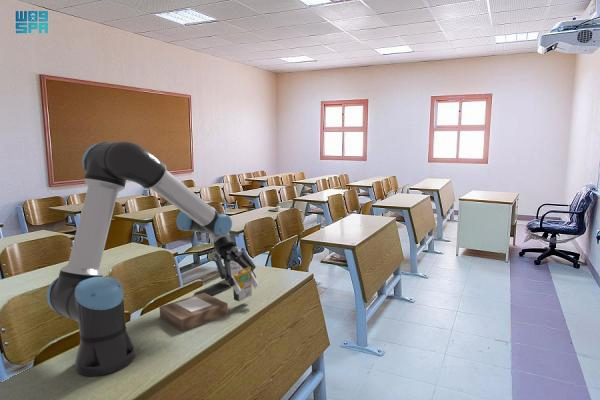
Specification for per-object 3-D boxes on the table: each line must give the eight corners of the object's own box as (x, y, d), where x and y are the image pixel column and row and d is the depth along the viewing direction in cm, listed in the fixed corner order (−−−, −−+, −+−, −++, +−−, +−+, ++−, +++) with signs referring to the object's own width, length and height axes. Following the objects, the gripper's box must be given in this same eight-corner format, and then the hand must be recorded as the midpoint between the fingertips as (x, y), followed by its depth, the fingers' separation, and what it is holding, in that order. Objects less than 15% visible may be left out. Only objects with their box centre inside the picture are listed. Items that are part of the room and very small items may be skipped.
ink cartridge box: (225, 279, 180) (224, 247, 178) (234, 276, 184) (232, 245, 182) (237, 283, 175) (235, 250, 173) (246, 280, 178) (244, 248, 176)
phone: (192, 293, 161) (219, 282, 174) (193, 296, 162) (219, 285, 174) (206, 297, 157) (232, 285, 169) (206, 299, 157) (232, 288, 169)
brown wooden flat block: (182, 331, 130) (181, 318, 129) (160, 317, 141) (159, 305, 140) (228, 314, 142) (227, 302, 142) (204, 302, 153) (203, 291, 153)
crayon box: (246, 294, 154) (245, 265, 153) (252, 295, 152) (251, 266, 151) (233, 299, 148) (232, 269, 147) (238, 301, 146) (237, 271, 145)
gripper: (239, 241, 166) (264, 287, 157) (195, 251, 152) (221, 302, 142) (246, 231, 162) (273, 277, 152) (202, 239, 147) (228, 291, 138)
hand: (248, 289), depth 147 cm, fingers closed on crayon box, 7 cm apart
